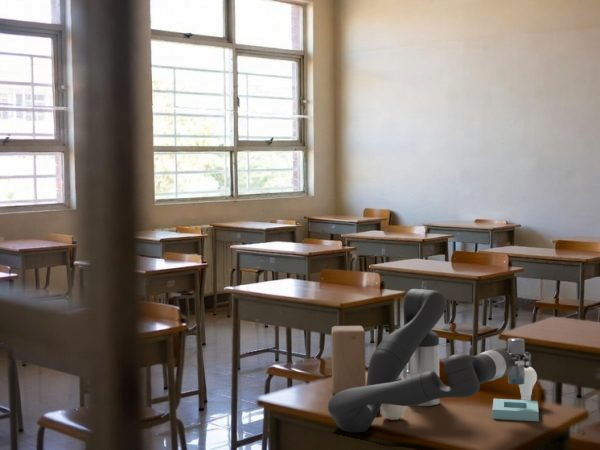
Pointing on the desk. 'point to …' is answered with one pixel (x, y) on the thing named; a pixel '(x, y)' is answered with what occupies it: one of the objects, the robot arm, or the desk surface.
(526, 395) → the lightbulb
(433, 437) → the desk surface
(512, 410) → the frame
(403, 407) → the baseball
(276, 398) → the desk surface
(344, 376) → the wooden block
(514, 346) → the brushed steel cylinder
